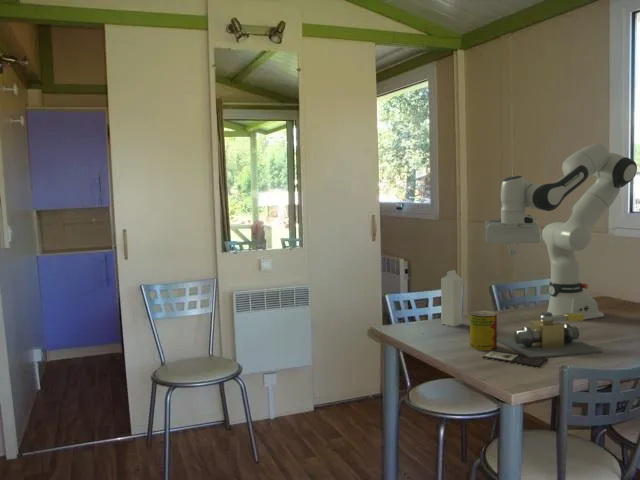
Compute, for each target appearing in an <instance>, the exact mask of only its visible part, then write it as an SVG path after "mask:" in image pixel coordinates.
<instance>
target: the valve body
mask: <svg viewBox="0 0 640 480" xmlns="http://www.w3.org/2000/svg"><path fill="white" fill-rule="evenodd" d="M513 337H514V339H515V342H516V343H517V344H523V345H524V346H526V347H527V346H531V345H532V344H534V345H536V346H538V347H540V348H554V347H564V343H571V342H572V341H573V339H576V340H579V338H580V330H579V328H578V327H577V326H572V325H570V323H569V324H568V323H560V322H559V321H556V322H553V323H542V322H541V319H540V320H530V321H529V327H528V326H524V327H521V328H520V330H515V332H514V334H513Z"/></svg>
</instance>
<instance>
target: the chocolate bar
mask: <svg viewBox="0 0 640 480" xmlns="http://www.w3.org/2000/svg"><path fill="white" fill-rule="evenodd" d="M483 358H488V359H487V360H489V359H494V360H493V361H495V360H499V361H498V362H501V361H505V362H504V363H507V362H511V363H510V364H513V363H517V364H516V365H518V364H522V365H521V366H524V365H527V366H526V367H530V366H533V367H532V368H536V367H539V366H540V367H542V365H544V364H545V363H546V362H547V361H548V357H545V358H541V357H528V356H526V355H521V354H520V353H512V352H506V351H501V350H500V351H499V350H496V349H495V350H490V352H489V351H488V352H487V353H486V354H485V355H483V356H482V359H483ZM545 361H546V362H545ZM544 362H545V363H544ZM543 363H544V364H543ZM540 367H539V368H540Z"/></svg>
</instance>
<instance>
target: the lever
mask: <svg viewBox="0 0 640 480" xmlns="http://www.w3.org/2000/svg"><path fill="white" fill-rule="evenodd" d="M540 320H541V322H542V323H553V322H579V321H581V322H582V321H585V319H584V314H581V313H571V314H564V315H552V313H550V312H547V311H542V312H541V314H540Z"/></svg>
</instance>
